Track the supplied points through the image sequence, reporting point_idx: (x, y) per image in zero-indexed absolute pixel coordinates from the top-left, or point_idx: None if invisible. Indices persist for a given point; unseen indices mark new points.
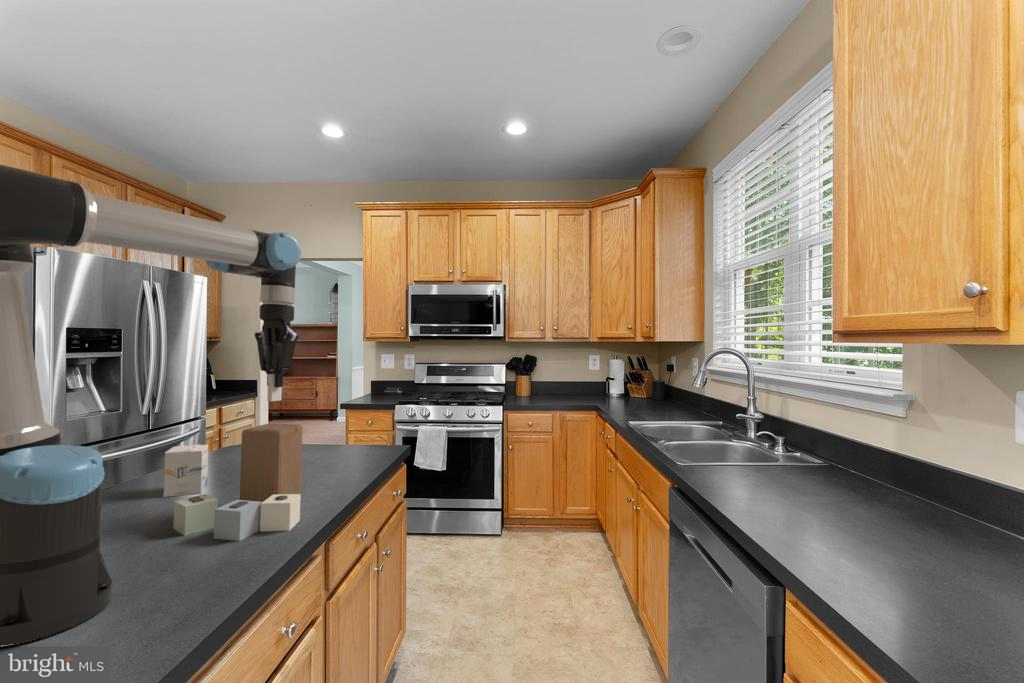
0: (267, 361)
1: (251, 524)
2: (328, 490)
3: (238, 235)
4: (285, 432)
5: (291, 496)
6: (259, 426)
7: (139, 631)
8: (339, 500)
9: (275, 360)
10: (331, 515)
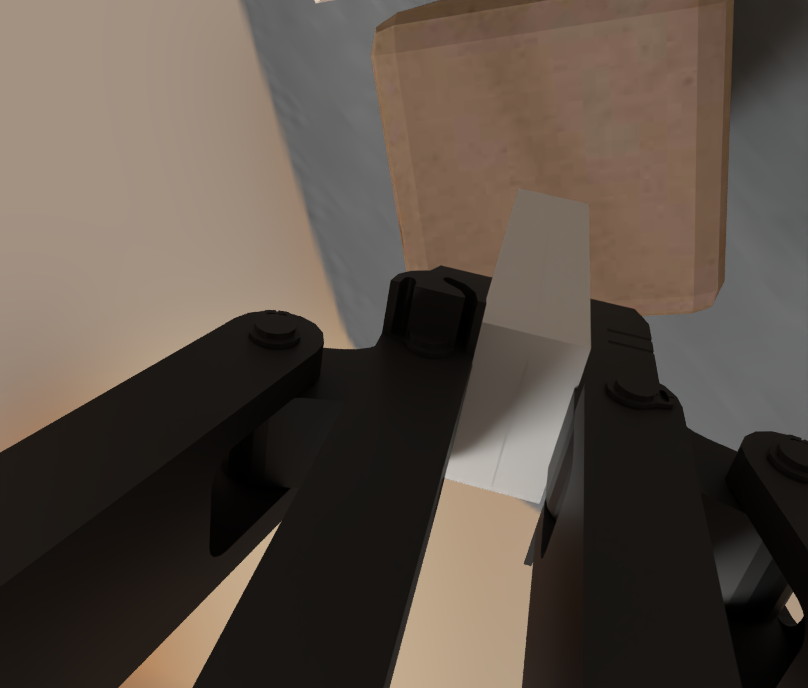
0: (652, 528)
1: None
2: None
3: None
4: (379, 99)
5: None
6: (665, 143)
7: None
8: (357, 250)
9: (361, 474)
10: (272, 86)
